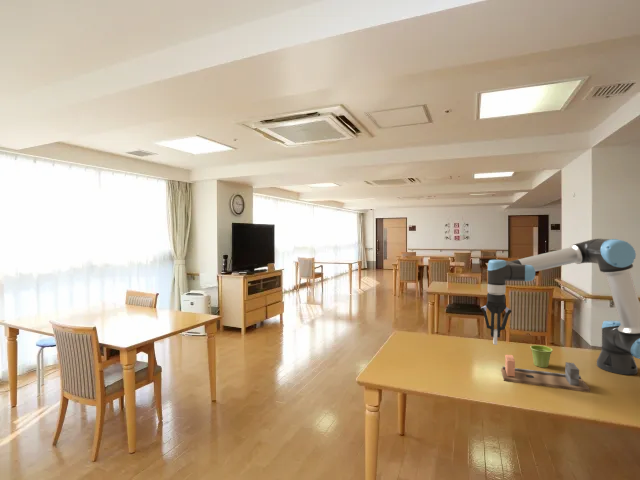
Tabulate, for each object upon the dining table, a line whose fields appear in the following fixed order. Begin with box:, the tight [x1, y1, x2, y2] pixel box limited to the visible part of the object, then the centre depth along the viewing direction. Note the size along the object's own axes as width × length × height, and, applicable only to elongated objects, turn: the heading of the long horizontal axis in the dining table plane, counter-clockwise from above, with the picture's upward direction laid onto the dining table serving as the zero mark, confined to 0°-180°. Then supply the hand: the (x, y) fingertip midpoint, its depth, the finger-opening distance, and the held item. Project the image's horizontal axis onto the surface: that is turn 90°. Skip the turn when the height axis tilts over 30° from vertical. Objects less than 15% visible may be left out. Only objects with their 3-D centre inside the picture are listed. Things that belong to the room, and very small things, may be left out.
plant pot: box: [529, 344, 553, 369], centre depth 179 cm, size 9×9×9 cm
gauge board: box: [500, 361, 591, 393], centre depth 161 cm, size 32×12×8 cm, turn 69°
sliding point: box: [504, 354, 516, 377], centre depth 166 cm, size 3×8×7 cm, turn 159°
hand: (495, 343), depth 168 cm, fingers closed
